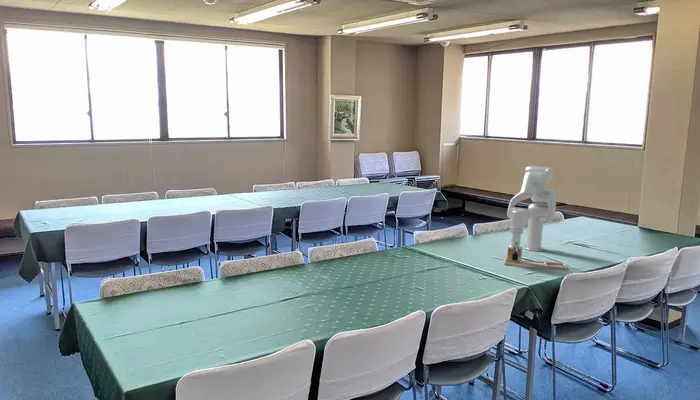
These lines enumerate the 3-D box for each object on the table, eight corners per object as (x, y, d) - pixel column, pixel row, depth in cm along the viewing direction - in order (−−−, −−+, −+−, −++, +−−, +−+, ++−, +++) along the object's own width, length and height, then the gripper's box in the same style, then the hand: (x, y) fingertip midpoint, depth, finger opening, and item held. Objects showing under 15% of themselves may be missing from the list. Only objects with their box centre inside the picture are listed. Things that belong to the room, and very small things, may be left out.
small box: (506, 263, 324) (507, 246, 322) (508, 261, 329) (509, 244, 327) (519, 265, 320) (521, 248, 318) (521, 263, 325) (522, 246, 323)
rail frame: (503, 260, 330) (503, 258, 330) (564, 265, 323) (564, 263, 323) (504, 264, 321) (504, 262, 321) (567, 270, 313) (567, 267, 313)
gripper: (509, 226, 330) (507, 254, 333) (511, 232, 313) (509, 261, 316) (521, 227, 328) (519, 255, 332) (524, 233, 312) (522, 263, 315)
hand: (514, 258), depth 324 cm, fingers closed on small box, 6 cm apart
